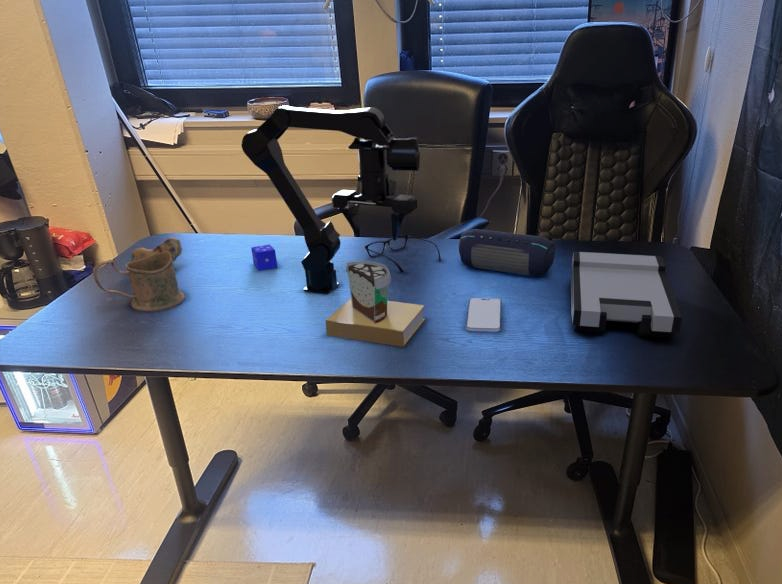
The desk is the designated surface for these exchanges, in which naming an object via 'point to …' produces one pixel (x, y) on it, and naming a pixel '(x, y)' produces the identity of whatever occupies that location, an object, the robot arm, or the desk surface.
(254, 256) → the die
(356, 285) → the food container
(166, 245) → the lion figurine
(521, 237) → the portable speaker
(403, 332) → the book
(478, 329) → the smartphone
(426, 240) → the eyeglasses
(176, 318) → the desk surface
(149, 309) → the mug
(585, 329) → the game console
